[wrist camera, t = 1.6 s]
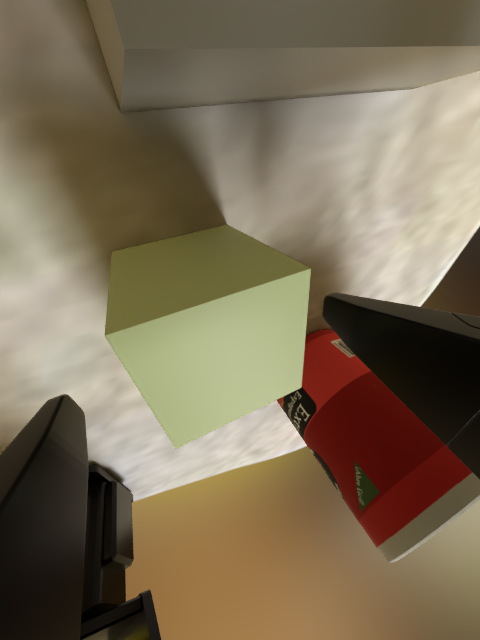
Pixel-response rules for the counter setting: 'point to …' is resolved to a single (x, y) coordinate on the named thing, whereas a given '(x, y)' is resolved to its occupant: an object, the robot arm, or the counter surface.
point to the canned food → (376, 449)
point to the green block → (208, 326)
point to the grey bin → (279, 48)
